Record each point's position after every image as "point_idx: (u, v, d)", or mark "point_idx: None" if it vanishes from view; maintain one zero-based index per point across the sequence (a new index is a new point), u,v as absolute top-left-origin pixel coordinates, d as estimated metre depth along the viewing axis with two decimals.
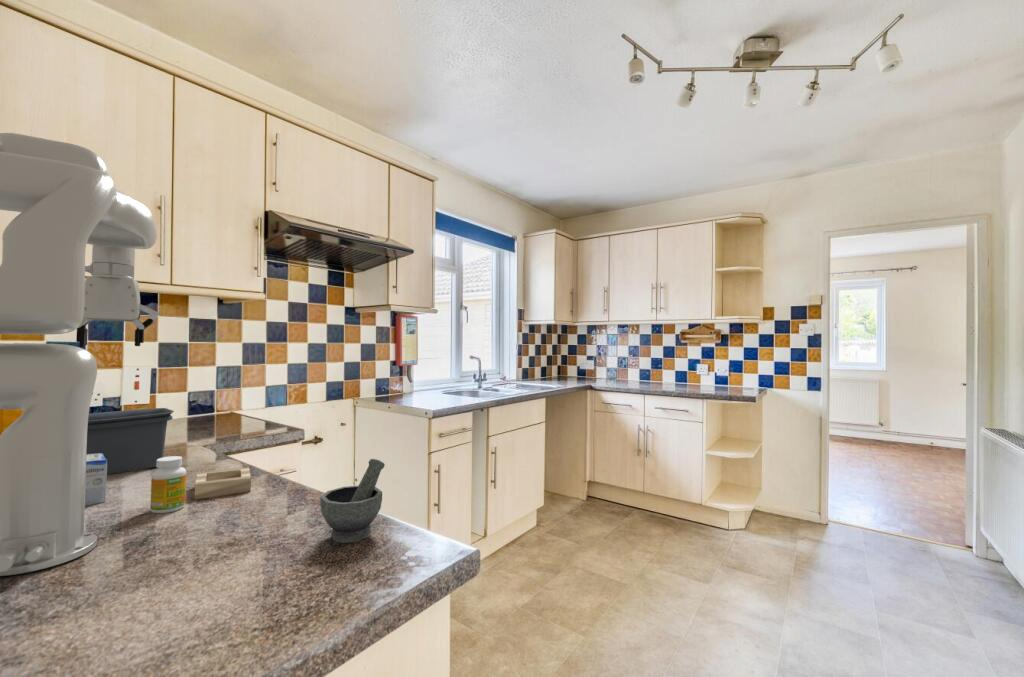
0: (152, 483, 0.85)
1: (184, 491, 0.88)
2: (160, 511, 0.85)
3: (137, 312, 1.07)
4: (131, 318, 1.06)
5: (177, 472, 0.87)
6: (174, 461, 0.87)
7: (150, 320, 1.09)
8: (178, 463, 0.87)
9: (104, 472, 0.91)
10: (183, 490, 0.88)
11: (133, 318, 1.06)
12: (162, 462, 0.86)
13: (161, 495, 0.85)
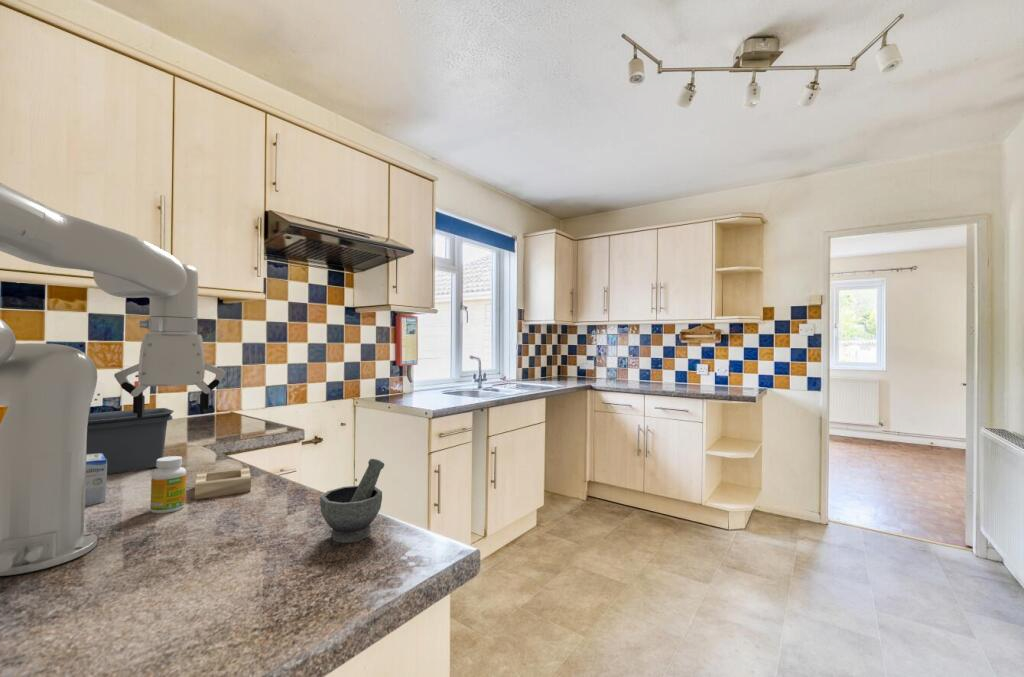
0: (152, 483, 0.85)
1: (184, 491, 0.88)
2: (160, 511, 0.85)
3: (203, 374, 0.89)
4: (196, 382, 0.88)
5: (177, 472, 0.87)
6: (174, 461, 0.87)
7: (216, 381, 0.91)
8: (178, 463, 0.87)
9: (104, 472, 0.91)
10: (183, 490, 0.88)
11: (198, 381, 0.88)
12: (162, 462, 0.86)
13: (161, 495, 0.85)
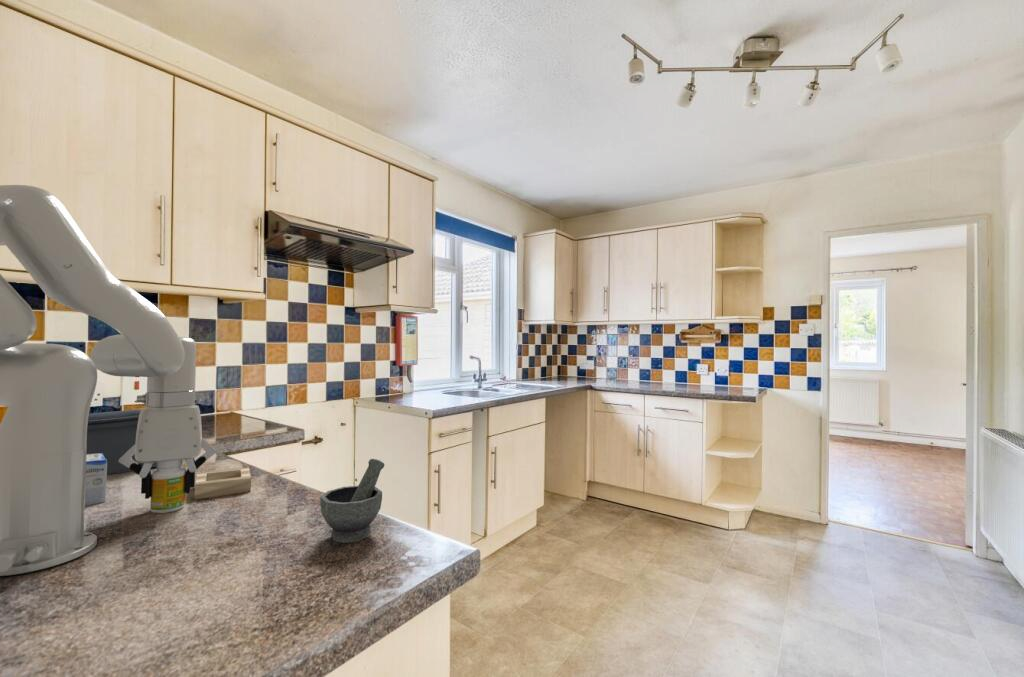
0: (152, 483, 0.85)
1: (184, 490, 0.88)
2: (160, 511, 0.85)
3: (200, 447, 0.88)
4: (193, 455, 0.87)
5: (177, 472, 0.87)
6: (174, 461, 0.87)
7: (203, 459, 0.90)
8: (177, 463, 0.87)
9: (104, 472, 0.90)
10: (183, 490, 0.88)
11: (195, 455, 0.88)
12: (162, 462, 0.86)
13: (161, 495, 0.85)
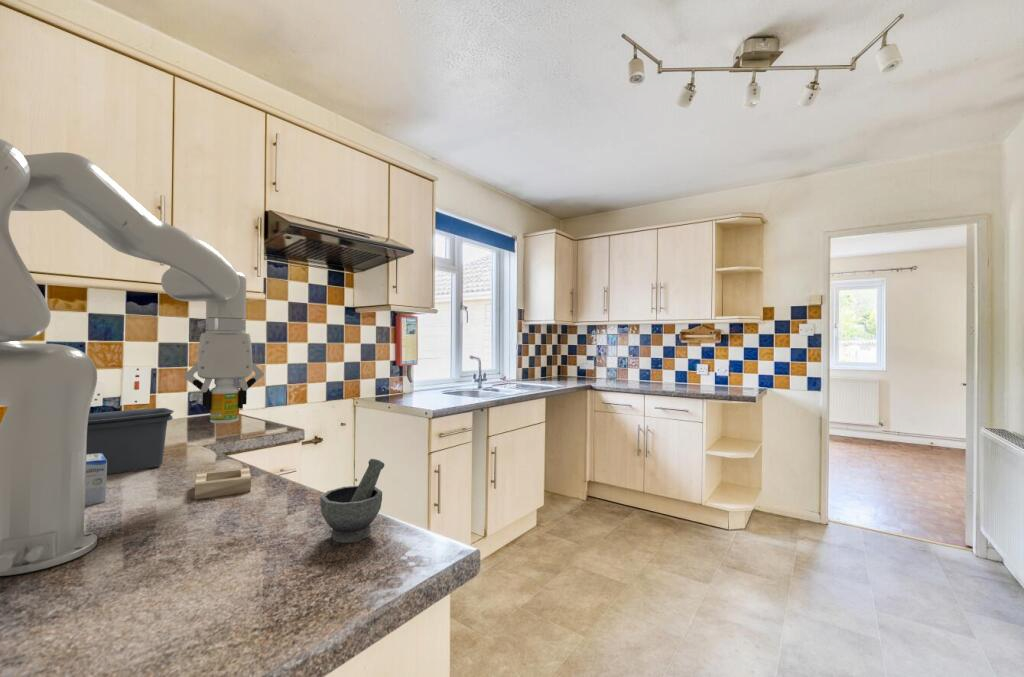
0: (211, 397, 0.98)
1: (238, 406, 1.01)
2: (219, 421, 0.97)
3: (251, 368, 1.01)
4: (246, 375, 1.00)
5: (233, 389, 0.99)
6: (230, 379, 0.99)
7: (253, 380, 1.02)
8: (232, 381, 1.00)
9: (104, 472, 0.90)
10: (238, 405, 1.00)
11: (248, 375, 1.00)
12: (220, 379, 0.98)
13: (220, 408, 0.97)
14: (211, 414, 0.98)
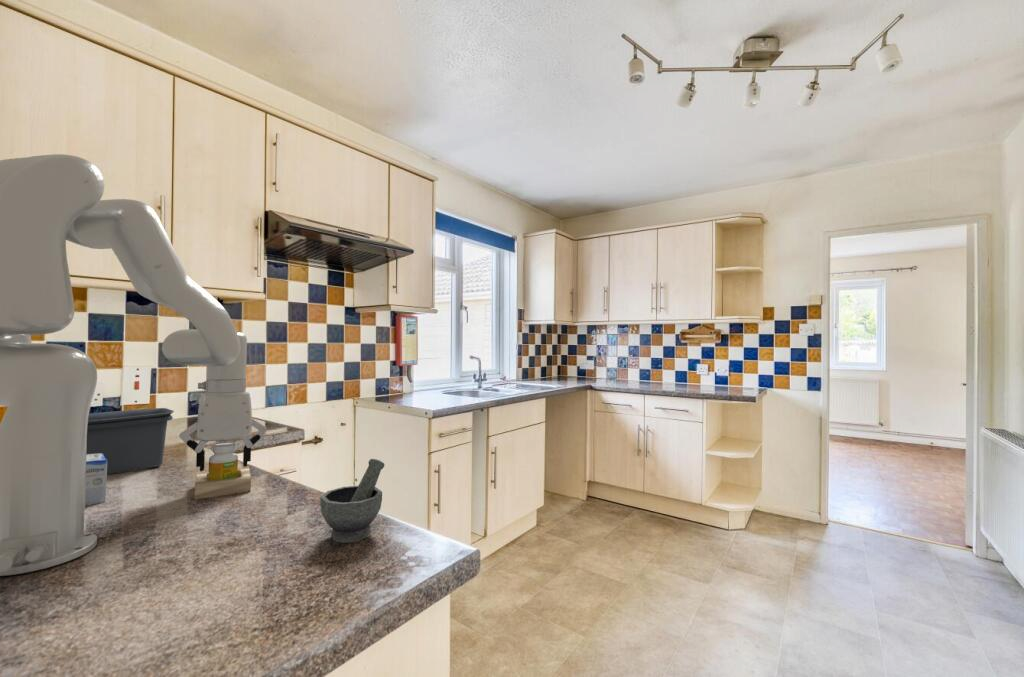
0: (210, 466, 0.97)
1: (236, 473, 1.00)
2: None
3: (251, 428, 1.01)
4: (245, 435, 1.00)
5: (231, 457, 0.99)
6: (228, 447, 0.99)
7: (258, 437, 1.03)
8: (231, 449, 0.99)
9: (104, 472, 0.91)
10: (236, 473, 1.00)
11: (247, 435, 1.00)
12: (218, 448, 0.98)
13: (218, 477, 0.97)
14: None
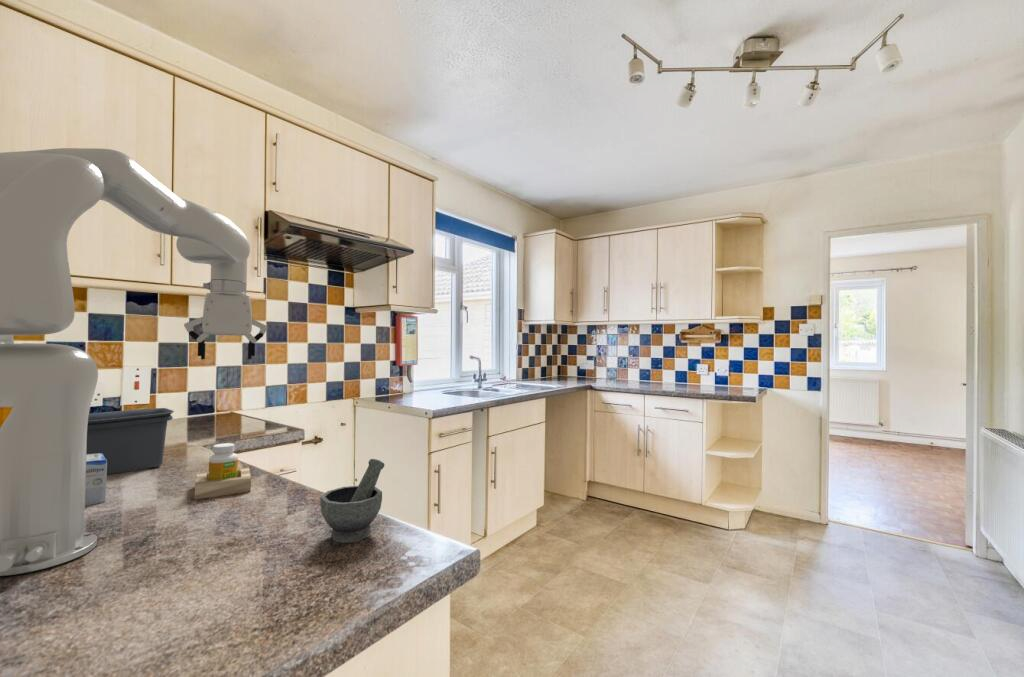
0: (210, 466, 0.97)
1: None
2: None
3: (251, 327, 1.11)
4: (246, 332, 1.10)
5: (231, 457, 0.99)
6: (229, 447, 0.99)
7: (261, 334, 1.14)
8: (231, 449, 0.99)
9: (104, 472, 0.90)
10: (236, 473, 1.00)
11: (248, 332, 1.11)
12: (219, 448, 0.98)
13: (218, 477, 0.97)
14: None
